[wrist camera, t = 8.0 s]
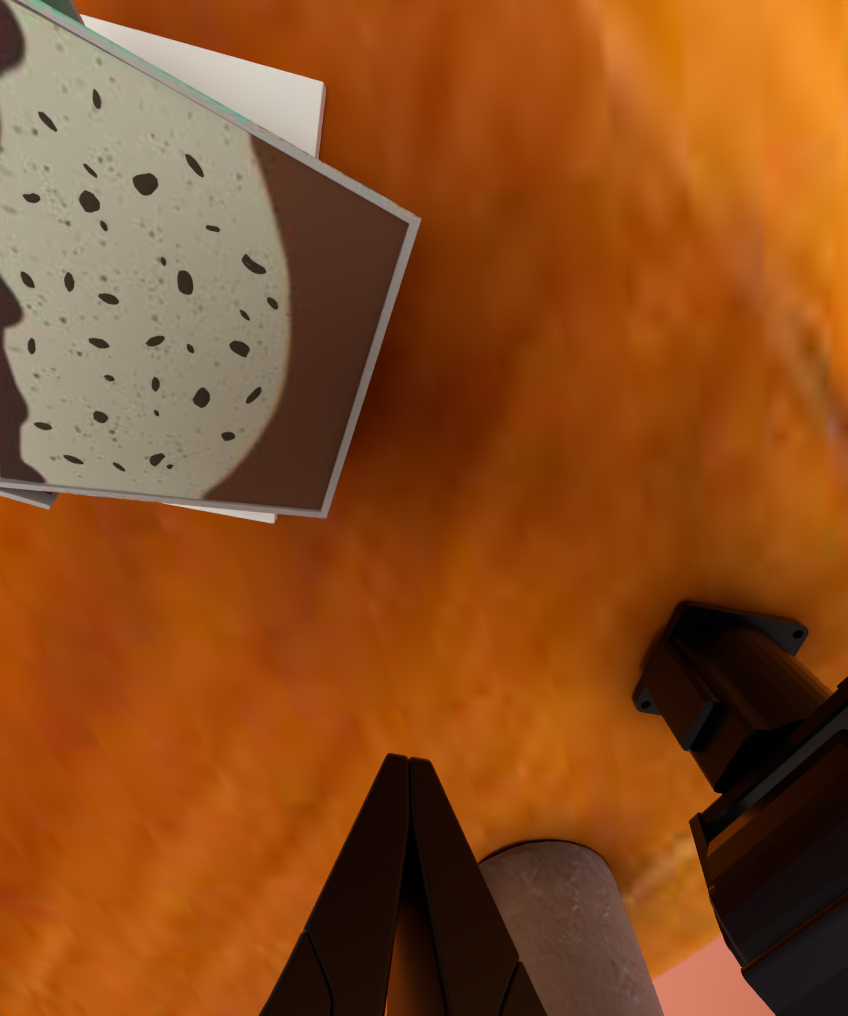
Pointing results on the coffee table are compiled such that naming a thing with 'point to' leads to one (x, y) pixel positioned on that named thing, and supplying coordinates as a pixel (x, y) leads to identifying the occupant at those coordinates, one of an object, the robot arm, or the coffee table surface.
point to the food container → (174, 286)
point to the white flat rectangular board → (234, 106)
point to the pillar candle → (571, 930)
